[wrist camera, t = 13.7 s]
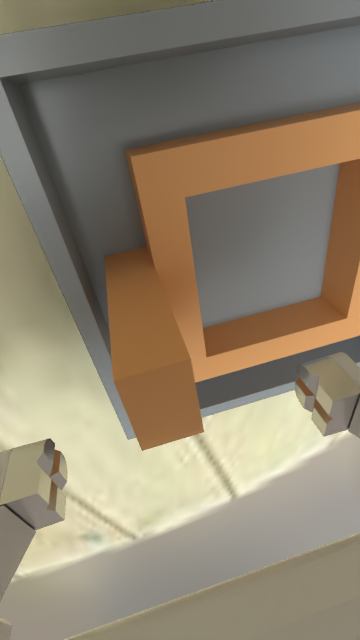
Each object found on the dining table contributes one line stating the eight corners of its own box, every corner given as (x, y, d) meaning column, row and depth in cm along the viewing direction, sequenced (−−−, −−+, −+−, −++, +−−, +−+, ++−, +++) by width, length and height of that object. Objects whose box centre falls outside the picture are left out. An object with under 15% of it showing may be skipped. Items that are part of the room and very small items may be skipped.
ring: (383, 97, 16) (673, 81, 8) (340, 311, 24) (461, 409, 16) (73, 160, 14) (46, 219, 6) (139, 366, 23) (165, 506, 15)
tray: (-13, 60, 13) (-50, 42, 9) (448, -16, 15) (546, -52, 12) (123, 398, 26) (127, 439, 22) (358, 331, 28) (393, 360, 24)
